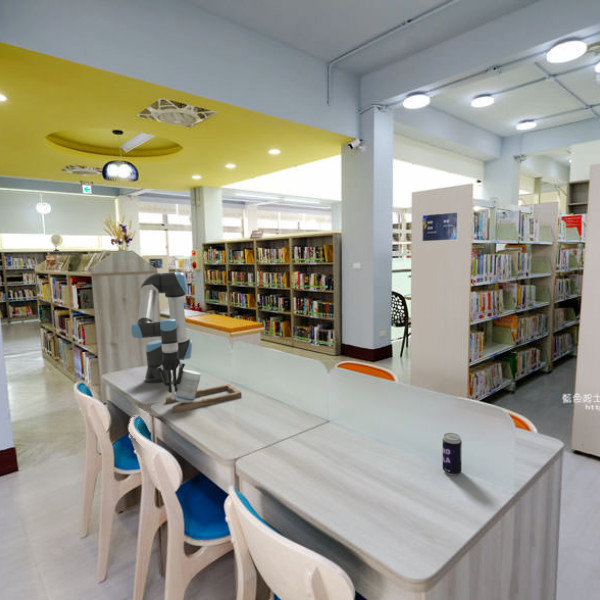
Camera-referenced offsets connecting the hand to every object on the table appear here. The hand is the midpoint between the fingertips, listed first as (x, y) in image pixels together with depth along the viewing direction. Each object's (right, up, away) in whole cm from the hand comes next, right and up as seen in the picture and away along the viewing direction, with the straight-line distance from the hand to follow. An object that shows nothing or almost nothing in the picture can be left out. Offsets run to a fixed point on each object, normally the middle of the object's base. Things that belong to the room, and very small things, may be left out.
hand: (173, 398), depth 193 cm
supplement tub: (+4, -2, +3) cm, 5 cm away
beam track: (+12, -3, +8) cm, 15 cm away
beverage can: (+111, -7, -66) cm, 129 cm away
